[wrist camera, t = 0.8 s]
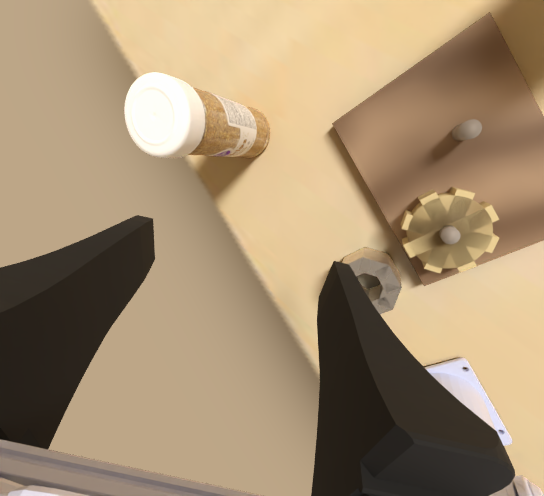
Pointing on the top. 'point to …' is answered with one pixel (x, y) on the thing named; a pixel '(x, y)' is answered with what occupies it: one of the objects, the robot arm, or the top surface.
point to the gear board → (454, 154)
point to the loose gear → (381, 268)
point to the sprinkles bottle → (190, 121)
